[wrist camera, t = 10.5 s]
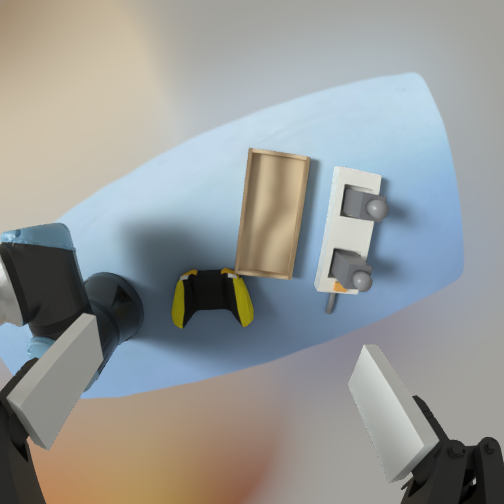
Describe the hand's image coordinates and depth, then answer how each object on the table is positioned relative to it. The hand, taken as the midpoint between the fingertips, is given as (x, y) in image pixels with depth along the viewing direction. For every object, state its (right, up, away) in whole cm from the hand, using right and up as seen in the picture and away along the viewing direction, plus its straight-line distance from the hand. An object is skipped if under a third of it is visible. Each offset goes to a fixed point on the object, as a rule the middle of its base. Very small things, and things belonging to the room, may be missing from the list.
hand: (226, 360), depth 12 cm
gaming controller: (-6, -3, +39) cm, 40 cm away
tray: (+4, +11, +35) cm, 37 cm away
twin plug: (+17, +3, +37) cm, 41 cm away
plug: (+19, +14, +34) cm, 41 cm away
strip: (+18, +6, +37) cm, 41 cm away
